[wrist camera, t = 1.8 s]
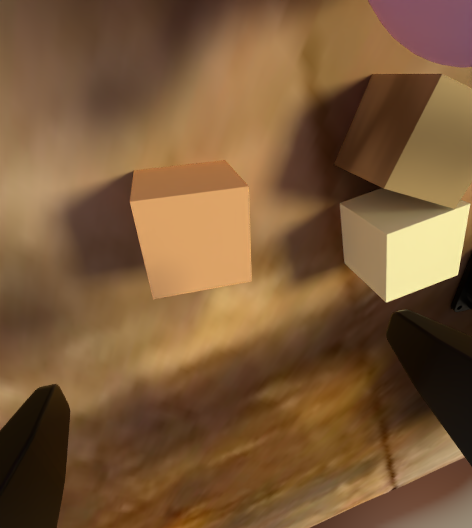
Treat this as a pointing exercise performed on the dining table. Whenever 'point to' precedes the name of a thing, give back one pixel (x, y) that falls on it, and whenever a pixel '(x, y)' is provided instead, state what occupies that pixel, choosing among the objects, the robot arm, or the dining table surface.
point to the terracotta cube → (192, 227)
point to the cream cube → (401, 241)
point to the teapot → (430, 28)
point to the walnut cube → (413, 137)
